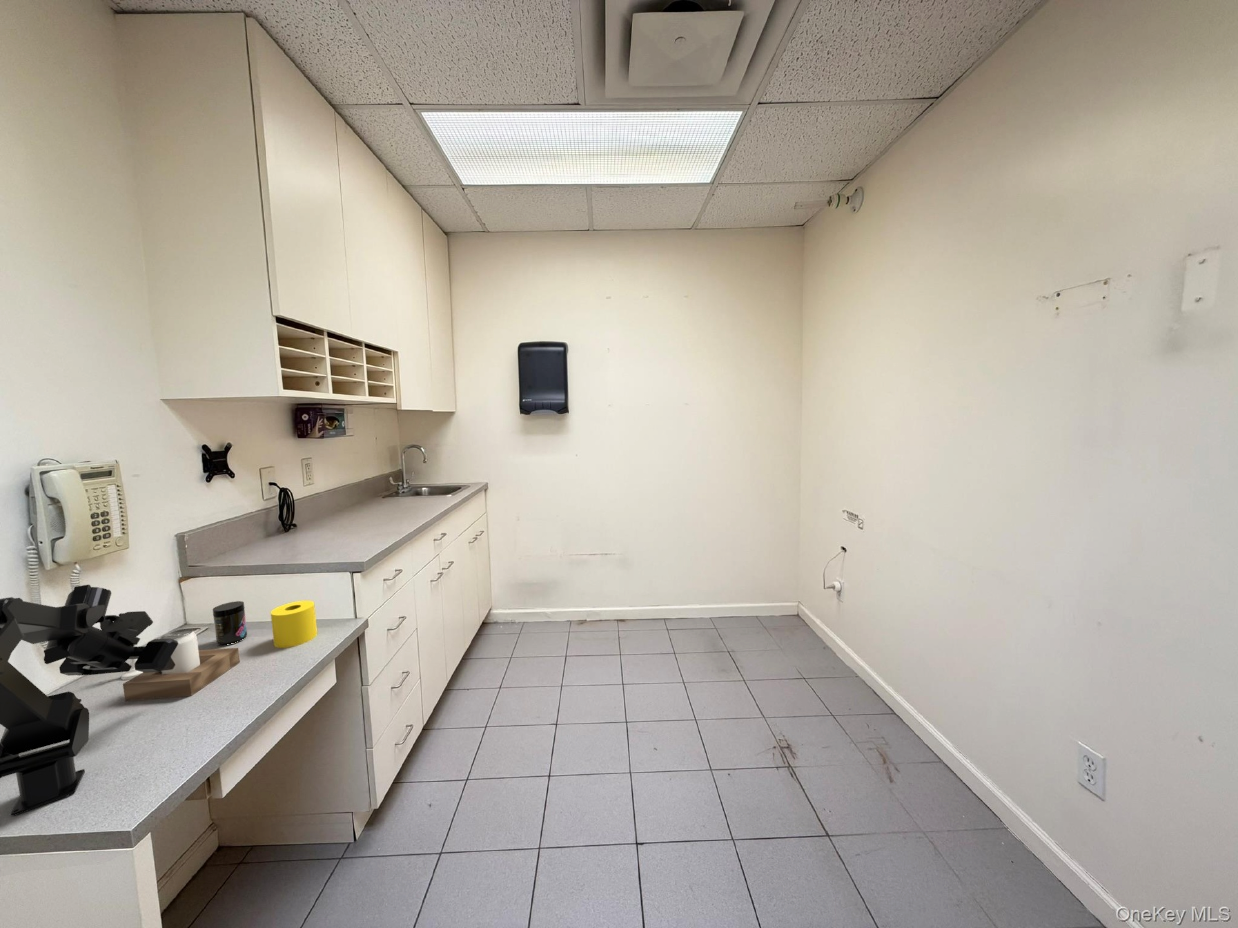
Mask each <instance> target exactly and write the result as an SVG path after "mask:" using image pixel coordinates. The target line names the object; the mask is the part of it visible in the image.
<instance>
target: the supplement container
mask: <svg viewBox="0 0 1238 928" xmlns="http://www.w3.org/2000/svg"><path fill="white" fill-rule="evenodd" d="M245 610H246V609H245V602H244V601H241V600H240V601H239V600H237V601H229V602H225V603H222V604H219V605H218V606H215V607H213V609H212V616H213V622H214V630H215V631H214V633H215V640H216V644H217V646H220V645H226V646H228V645H227V644H231V643H235V642H237V641H240V640H242V639H244V638H245V639H246V638H247V637H248V629H247V621H246V612H245ZM245 639H244V640H245ZM242 641H243V640H242ZM240 642H241V641H240ZM235 644H236V643H235ZM231 645H232V644H231Z"/></svg>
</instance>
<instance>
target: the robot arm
mask: <svg viewBox="0 0 1238 928" xmlns="http://www.w3.org/2000/svg"><path fill="white" fill-rule="evenodd" d="M111 596H112V591H111V590H110V589H107V588H104V587H97V586H92V585H90V584H83V585H77V586H74V588H73V590H72V591H71V592H69V593H68V594H67V596H66V597H67V598H66V600H65V603H64V605H63V606H52V605H46V604H41V603H36V602H32V601H31V602H29V601H24V600H23V599H22V598H21V597H16V598H15V597H13V596H11V597H9V596H8V597H4V598H0V725H1V726H2V727H3V728H4V731H3V734H2V735H1V738H0V779H1V778H3V777H4V778H5V777H7V776H10V775H13V774H15V775H16V779H17V780H16V782H17V786H18V791H19V792H18V793H19V799H18V800H17V802H16V803H15V805H14V807H13V808H12V810H11V812H10V816H11V815H14V816H16V815H15V814H17V815H19V814H22V813H25V812H27V810H28V811H31V810H33V809H36V808H39V807H42V806H44V805H47V804H49V803H52V802H55V801H58V800H61V799H63V798H66V797H68V796H71V795H73V794H75V793H76V791H77V790H78V787H79V785H80V783H81V782H82V779H83V777H84V775H85V773H86V770H85V769H84V768H83V769H79V770H77V771H76V766H75V765H76V763H75V758H74V757H77V756H78V754H80V752H81V750H82V749H83V748H84V747H85V745H86V744H87V743H88V742H89V740H90V738H89V737H90V735H89V733H90V732H89V731H90V710H89V708H88V707H85V706H84V704H83V703H81V702H82V698H78V697H77V696H76V695H75V694H76V693H74V692H72V691H65V692H60V693H55V694H52V695H47V694H46V693H44V692H43V690H41V689H40V688H39V687H38V686H37V685H36V684H34V683H33V682H32V681H31V680H30V679H28V678H27V676H25V675H24V674H23V673H22V672H21V671H19V670H18V669H17V668H16V667H15V666H14V665H12V664H11V663H10V661H9V660H10V657H11V655H12V653H13V651H14V650H15V649H16V647H17V646H18V645H19V643H20V642H21V641H23V642H26V643H29V644H32V645H36V644H39V643H46V642H47V644H46V647H45V649H44V650H43V655H44V656H43V662H44V664H45V665H50V664H52V663H54V662H57V661H61V660H63V659H64V660H63V661H62V662H61V664H60V665H59V667H58V668H59V674H62V675H66V676H93V675H104V674H105V675H106V674H114V673H125V672H127V671H129V670H130V669H131V667H132V666H131V665H130V663H128V662H127V661H128V660H131V659H137V661H136V662H135V670H137V671H141V672H143V673H147V672H159V671H165V670H172V669H173V668H174V666H175V663H174V661H173V660H172V658H171V656H172V654H173V652H174V650H175V649H176V647H177V645H178V642H177V641H176V640H173V639H171V638H169V639H160V638H154V639H151V640H150V641H148V642H147V643H146V645H145V646H144V645H143V646H138V644H139V642H140V640H141V638H140V637H138V636H139V635H140V634H141V635H142V633H143V632H144V631H145V630H146V629H147V628H148V627H151V625H153V623H154V621H153V620H152V618H151V617H150V615H149V614H148V613H147V611H144V610H143V611H142V610H140V611H137V610H136V611H127V612H124V613H122V612H121V613H119V614H118V615H117V614H109V615H106V614H107V611H108V607H109V603H110V601H111V600H110V599H111ZM98 623H99V628H98V627H95V626H94V625H96V624H98ZM137 643H138V644H137ZM134 645H137V647H133V646H134ZM67 741H69V742H67ZM63 742H64V743H63ZM65 742H66V743H65ZM59 743H61V744H59ZM55 744H58V745H55ZM52 745H55V746H52ZM49 746H51V747H49ZM44 747H46V748H44ZM41 748H44V749H41ZM38 749H39V750H38ZM34 750H36V751H34ZM31 751H32V752H31ZM27 752H29V753H27ZM23 753H26V754H23ZM21 754H22V755H21Z"/></svg>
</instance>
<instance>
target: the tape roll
mask: <svg viewBox="0 0 1238 928" xmlns="http://www.w3.org/2000/svg"><path fill="white" fill-rule="evenodd" d="M270 619H271V620H270V621H271V628H272V639H273V646H274V647H275V648H278V649H285V648H293V647H297V646H300V645H303V644H305V643H309V642H310V641H312V640H314V639H315V638H316V637H317V635H318V630H317V617H316V609H315V602H314V601H313V600H298V601H293V602H289V603H285V604H282V605H279V606H277V607H275V608H273V609H272V610H271V611H270Z"/></svg>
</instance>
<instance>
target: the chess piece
mask: <svg viewBox="0 0 1238 928" xmlns="http://www.w3.org/2000/svg"><path fill="white" fill-rule="evenodd" d="M138 644H139V642H138V643H137V645H134V646H133V647H138ZM136 661H137V659H130V663H129V665H131V666H132V667H131V669H130V670H129V671H127V672H122V674H121V680H124V681H125V680H127V681H129V680H131V679H132V678H134V677H136V676H138V675H140V674H141V673H143V672H141V671H137V670H135V662H136Z"/></svg>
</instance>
